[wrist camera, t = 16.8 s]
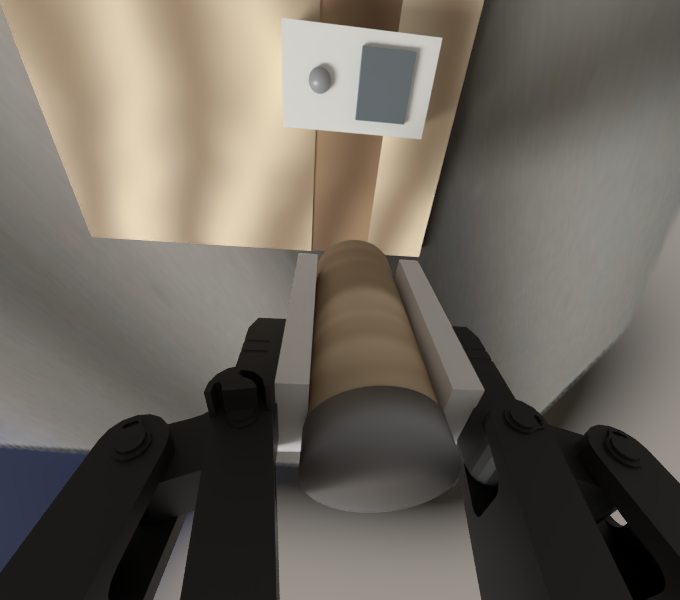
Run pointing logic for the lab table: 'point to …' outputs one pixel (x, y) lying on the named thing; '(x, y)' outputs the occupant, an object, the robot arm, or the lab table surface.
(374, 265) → the peg
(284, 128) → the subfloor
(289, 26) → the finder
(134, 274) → the lab table surface
